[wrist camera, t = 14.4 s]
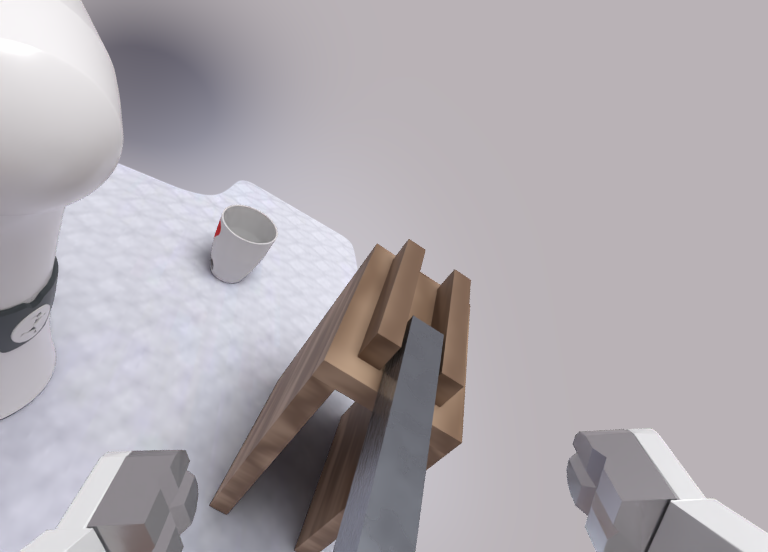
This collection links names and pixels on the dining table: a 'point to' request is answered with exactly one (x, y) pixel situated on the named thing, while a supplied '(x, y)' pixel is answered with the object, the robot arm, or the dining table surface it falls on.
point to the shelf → (358, 380)
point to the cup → (240, 242)
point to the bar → (395, 450)
